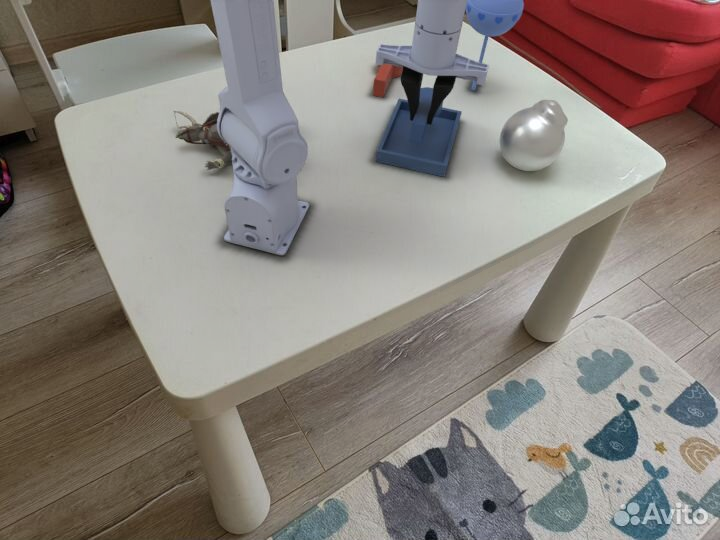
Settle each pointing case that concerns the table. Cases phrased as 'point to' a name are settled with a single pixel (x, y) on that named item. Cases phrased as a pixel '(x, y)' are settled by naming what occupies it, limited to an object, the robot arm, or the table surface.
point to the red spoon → (385, 78)
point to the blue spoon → (422, 115)
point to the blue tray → (413, 154)
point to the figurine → (206, 137)
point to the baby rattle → (492, 18)
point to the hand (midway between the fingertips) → (422, 118)
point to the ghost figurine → (534, 136)
